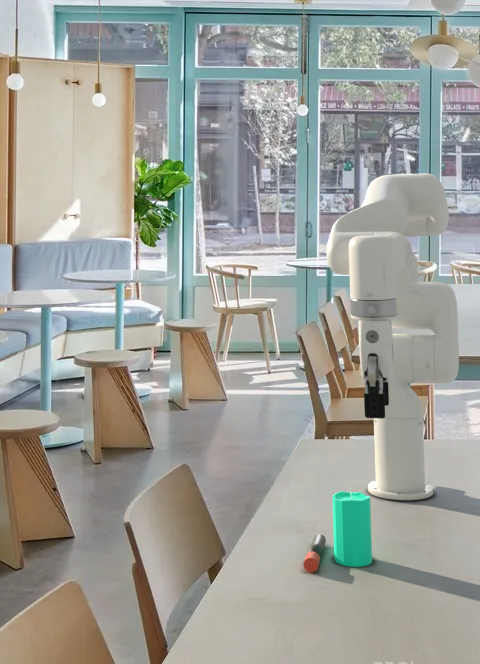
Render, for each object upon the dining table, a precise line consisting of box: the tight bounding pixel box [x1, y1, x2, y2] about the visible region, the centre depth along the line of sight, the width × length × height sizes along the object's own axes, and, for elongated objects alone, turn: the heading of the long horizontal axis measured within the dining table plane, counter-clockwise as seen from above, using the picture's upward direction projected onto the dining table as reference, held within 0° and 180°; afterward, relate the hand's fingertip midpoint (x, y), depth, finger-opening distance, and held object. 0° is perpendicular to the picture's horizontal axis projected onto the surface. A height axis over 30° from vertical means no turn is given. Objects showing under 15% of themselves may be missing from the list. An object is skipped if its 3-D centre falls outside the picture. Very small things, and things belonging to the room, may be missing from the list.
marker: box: [302, 533, 327, 573], centre depth 168 cm, size 14×2×2 cm, turn 162°
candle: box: [331, 486, 373, 568], centre depth 167 cm, size 6×6×12 cm
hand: (377, 411), depth 171 cm, fingers open, 9 cm apart
